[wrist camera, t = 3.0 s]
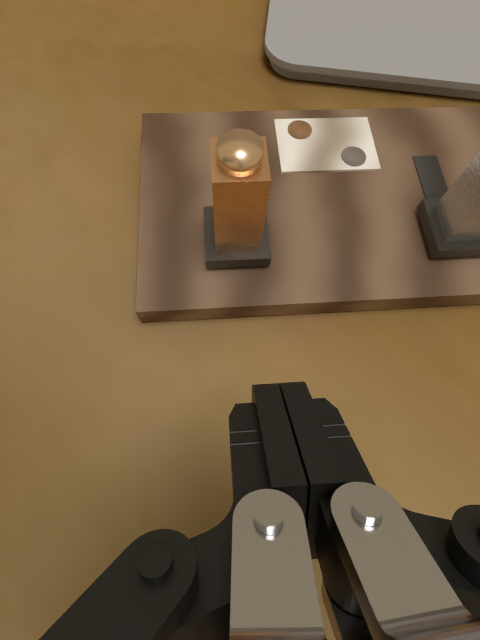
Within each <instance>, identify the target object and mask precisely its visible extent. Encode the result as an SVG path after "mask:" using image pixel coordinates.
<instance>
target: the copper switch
mask: <svg viewBox="0 0 480 640" xmlns="http://www.w3.org/2000/svg"><path fill="white" fill-rule="evenodd" d="M210 156H211V174H212V193H213V206H206V207H203V212H204V236H205V259H206V269H209V268H231V267H253V266H270V263H271V250H270V241H269V233H268V224H267V215H266V210H267V204H268V198H269V191H270V185H271V175H270V167H269V160H268V152H267V144H266V136H258V135H257V134H256V133H254V132H253V131H250V130H247V129H242V128H237V129H231V130H228V131H226V132H224V133H223V134H222V135H221V136H220V137H216V138H210Z"/></svg>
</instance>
